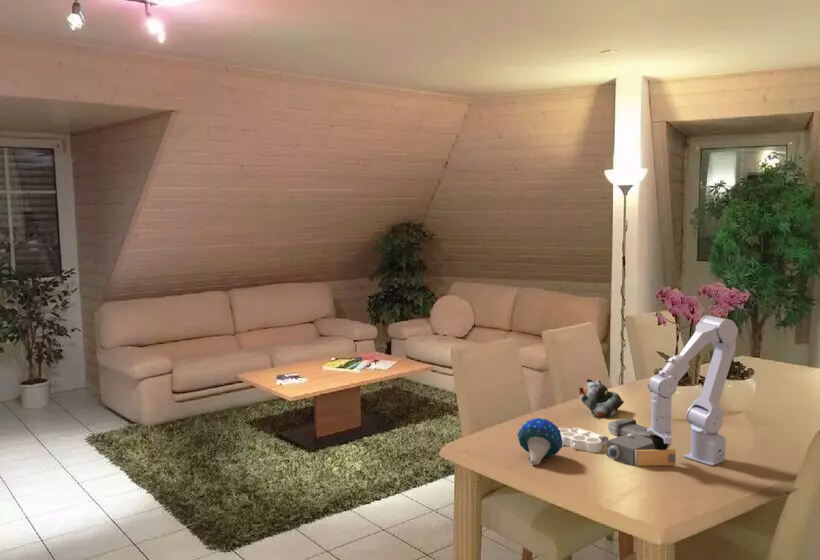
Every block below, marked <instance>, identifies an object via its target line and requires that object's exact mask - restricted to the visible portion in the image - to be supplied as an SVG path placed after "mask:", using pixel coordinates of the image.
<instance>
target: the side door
mask: <svg viewBox="0 0 820 560" xmlns="http://www.w3.org/2000/svg"><path fill="white" fill-rule="evenodd" d="M676 451H677V450H676V449H675V448H674V449H673V448H672V449H671V448H669V449H668V448H667V449H662V450H635V465H634V466H638V467H639V466H641V467H643V466H646V467H647V466H676V454H677V453H676Z"/></svg>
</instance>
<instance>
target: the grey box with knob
mask: <svg viewBox="0 0 820 560" xmlns="http://www.w3.org/2000/svg"><path fill="white" fill-rule="evenodd" d="M635 450H655V449H654V445H653V442H652V439H649V438H646V437H643V436H639V435H636V434H633V433H630V434H626V435H622V436H618V437H617V436H616V437H614V438H611V439H610V438H609V439H608V440H607V443H606V457H607V458H611V459H613V460H616V461H620V462H621V463H624V462H625V464H628V465H630V466H633V467H634V466H635Z"/></svg>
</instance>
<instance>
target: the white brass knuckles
mask: <svg viewBox="0 0 820 560" xmlns="http://www.w3.org/2000/svg"><path fill="white" fill-rule="evenodd" d="M558 429H559V430H560V433H561V437H562V442H563V445H562V446H564V445H565V446H564V447H568V446H570V447H569V448H571V447H572V448H571V449H573V448H575V449H574V450H577V449H583V450H582V451H585V450H586V452H588V453H599V452H601V451H602V445H607V440H609V437H608V436H606V435H604V434H599V433H596V432H594V431H591V430H588V429H584V428H581V427H579V426H578V427H573V428H566V427H558ZM602 443H603V444H602ZM598 451H599V452H598Z"/></svg>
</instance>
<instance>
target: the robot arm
mask: <svg viewBox="0 0 820 560" xmlns="http://www.w3.org/2000/svg"><path fill="white" fill-rule="evenodd" d="M738 334H739V327H738V326H737V325H736V323H735V321H733V320H731V319H730V318H729V319H728V318H727V319H726V318H722V317H718V316H714V315H710V314H706V315H704V316H702V317H701V319H700V321H699V322H698V323H697V324H696V325H695V332H694V333H693V334H692V335H691V337H690V339H689V340H688V341H687V343H686V344H685V346H684V347H683V348H682V350H681V351H680V353H679V354H677V355H672V357H669V358H668V360H667V363H666V364H665V365H664V366H663V367H662V369H661V370H660V371H659V372H658V373H657V374H656V375H653V376H651V377H650V378H649V381H648V383H646V385H647V389H648V391H649V392H650V397H651V398H650V400H651V401H650V402H651V404H650V428H649V427H647V432H649V433H653V434H652V435H650V437H651V439H652V442H653V445H654V449H655V450H662V449H668V446H669V445H673V444H672V442H673V441H672V439H673V438H672V400H673V399H672V398H673V395H675V394H676V392H677V388H678V384H679V381H680V380H681V379H682V378H683V377H684V375H685V374H686V373H687V372H688V370H689V369H690V364H689V363H690V361H691V360H692V359H693V358H694V357H695V356H696V355H697V354H698V353H699V352H700V351H701V350H702V349H703V347H704V346H705V345H707V344H712V346H713V347H714V350H713V353H712V356H711V360H710V363H709V366H708V370H707V373H706V377H705V379H704V383H703V385H702V389H701V392H700V395H699V397H696V398H695V399H694V400H692V402H691V406H690V407H689V408H688V409H687V411H686V414H685V417H686V420H687V423H689V428H690V453H687V454H684V457H685V458H686V459H690V460H691V461H692V460H693V461H697V462H700V463H702V464H706V465H709V466H715V465H717V464H720V463H723V462H725V461H727V458H726V444H727V443H726V437H725V435H722V434H720V433H719V431H720V430H721V428H722V427H723V415H724V410H723V408H722V406H721V404H720V400H721V397H722V393H723V390H724V387H725V383H726V381H727V377H728V375H729V371H730V367H731V364H732V361H733V358H734V355H735V352H736V347H737V344H736V341H737V340H736V339H737V336H738Z"/></svg>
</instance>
